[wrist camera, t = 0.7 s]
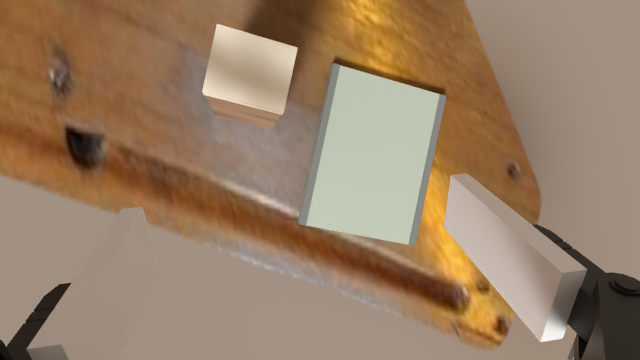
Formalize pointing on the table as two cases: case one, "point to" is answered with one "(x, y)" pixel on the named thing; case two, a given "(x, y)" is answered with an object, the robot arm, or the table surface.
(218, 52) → the beige block
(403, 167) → the mat
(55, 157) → the table surface
